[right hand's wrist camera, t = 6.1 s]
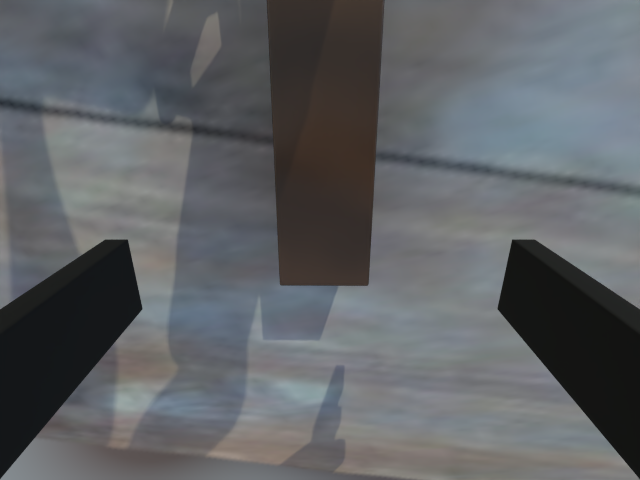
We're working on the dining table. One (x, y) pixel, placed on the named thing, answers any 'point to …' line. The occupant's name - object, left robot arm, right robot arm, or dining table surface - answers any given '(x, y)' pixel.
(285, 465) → the dining table surface
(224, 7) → the dining table surface
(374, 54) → the walnut beam
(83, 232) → the dining table surface
